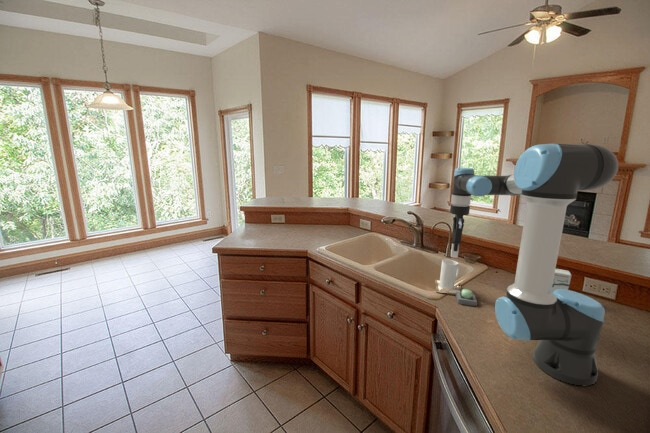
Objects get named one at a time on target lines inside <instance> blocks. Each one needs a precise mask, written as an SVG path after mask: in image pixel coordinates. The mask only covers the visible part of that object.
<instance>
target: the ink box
mask: <svg viewBox="0 0 650 433" xmlns="http://www.w3.org/2000/svg"><path fill="white" fill-rule="evenodd" d="M571 279H572V274H571V271H569V270H567V269H566V270H565V269H560V268H555V274H554V279H553V285H552V290H551V292H552V293H554V291H555V290H557V289H565V290H569V288H570V283H571Z"/></svg>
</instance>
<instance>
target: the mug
mask: <svg viewBox="0 0 650 433" xmlns="http://www.w3.org/2000/svg"><path fill="white" fill-rule="evenodd" d="M460 269H461V268H460V263H459V262H457V260H453V259H446V258H445V259H442V260H441V267H440V275H439V276H440V277H439V280H440V284H439V285H440V287H441V288H445V289H454V285H455V282H456V280H458V277H459V275H460V271H461V270H460Z"/></svg>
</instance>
